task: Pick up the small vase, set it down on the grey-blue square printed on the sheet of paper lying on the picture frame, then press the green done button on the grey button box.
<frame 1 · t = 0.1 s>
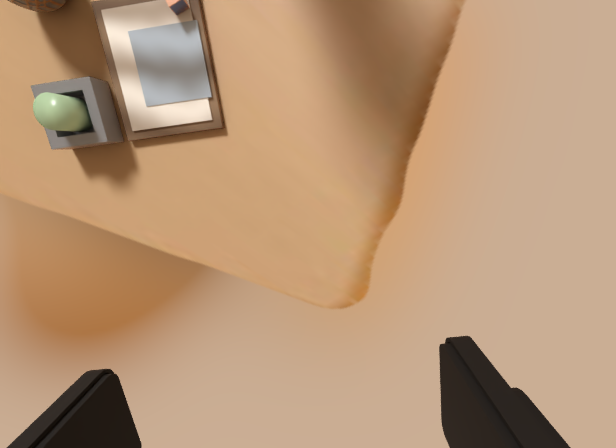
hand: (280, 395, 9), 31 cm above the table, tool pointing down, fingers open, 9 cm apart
button box: (89, 116, 37), on the table
picture frame: (162, 68, 35), on the table
done button: (65, 113, 34), point 4 cm above the table, slide at 0.0 cm
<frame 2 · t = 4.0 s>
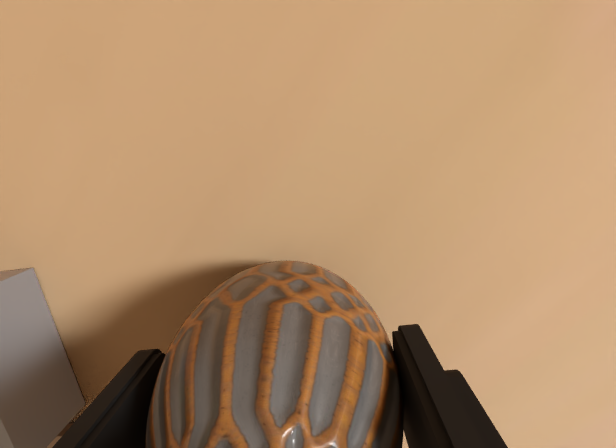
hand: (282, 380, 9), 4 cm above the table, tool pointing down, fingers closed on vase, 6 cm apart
vase: (293, 313, 13), on the table, touching gripper
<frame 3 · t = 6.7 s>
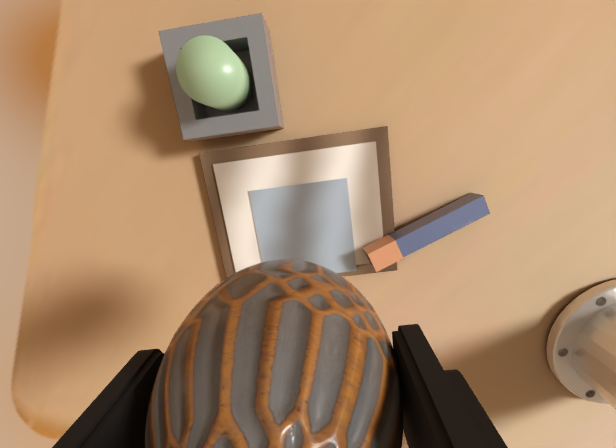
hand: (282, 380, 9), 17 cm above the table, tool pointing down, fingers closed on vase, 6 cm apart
marker: (419, 228, 25), point 1 cm above the table, tilted 6°, touching picture frame
button box: (232, 88, 23), on the table
vase: (293, 312, 13), point 14 cm above the table, touching gripper
picture frame: (302, 212, 26), on the table
done button: (217, 77, 20), point 4 cm above the table, slide at 0.0 cm
when the fingers open (5 cm above the table, at t = 9.4 s): vase stays where it is, resting on picture frame.
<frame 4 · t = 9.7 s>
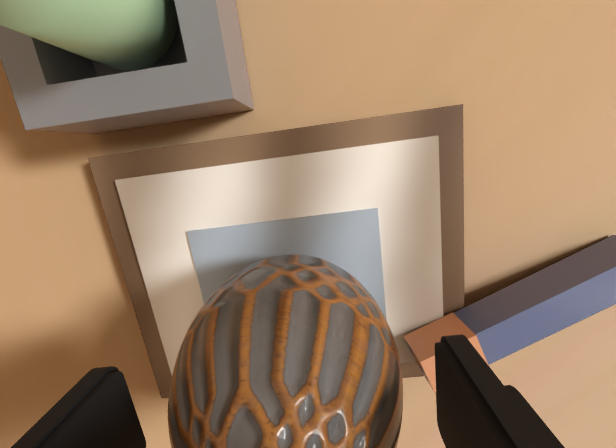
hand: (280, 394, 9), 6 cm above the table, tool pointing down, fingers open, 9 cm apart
marker: (511, 301, 13), point 1 cm above the table, tilted 6°, touching picture frame
button box: (149, 27, 12), on the table
vase: (298, 305, 13), point 1 cm above the table, touching picture frame
picture frame: (291, 267, 14), on the table
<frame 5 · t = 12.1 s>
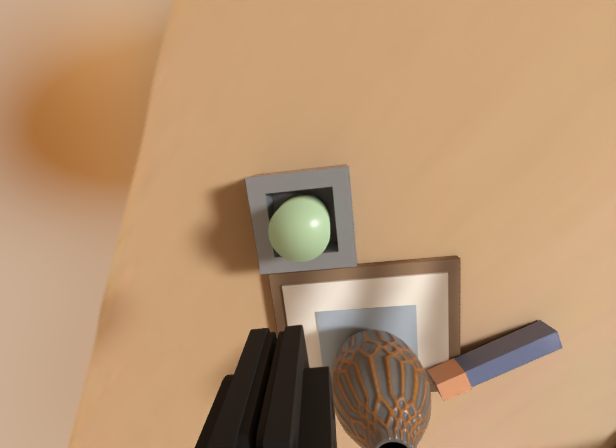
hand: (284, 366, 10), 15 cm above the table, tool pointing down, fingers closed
marker: (486, 353, 25), point 1 cm above the table, tilted 6°, touching picture frame
button box: (305, 214, 24), on the table
vase: (370, 351, 25), point 1 cm above the table, touching picture frame
picture frame: (365, 329, 26), on the table
done button: (301, 225, 20), point 4 cm above the table, slide at 0.0 cm
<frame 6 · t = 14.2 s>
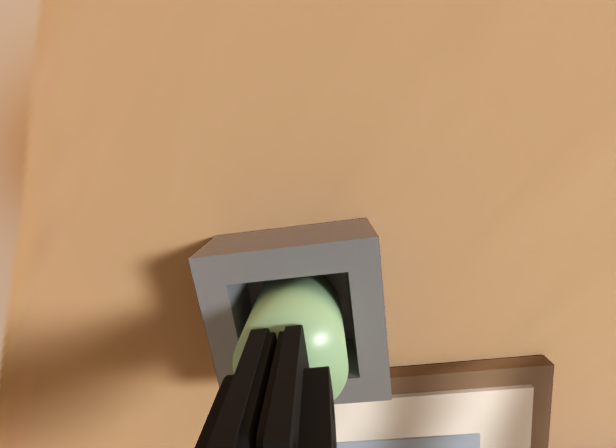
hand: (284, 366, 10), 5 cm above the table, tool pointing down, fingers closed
button box: (300, 295, 15), on the table
done button: (295, 333, 12), point 3 cm above the table, slide at 0.6 cm, touching gripper
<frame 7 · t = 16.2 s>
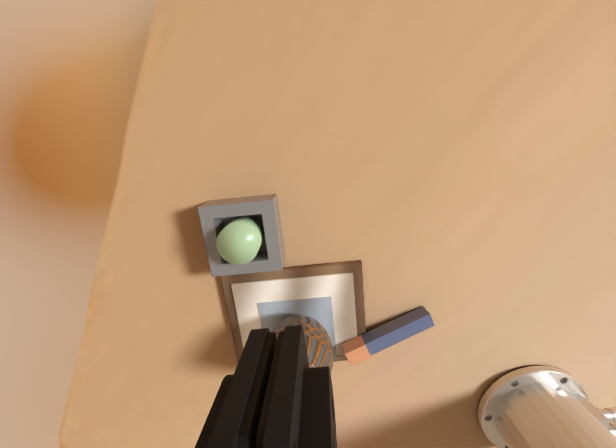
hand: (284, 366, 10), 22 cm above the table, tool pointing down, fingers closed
marker: (384, 330, 34), point 1 cm above the table, tilted 6°, touching picture frame
button box: (247, 230, 31), on the table
vase: (300, 331, 33), point 1 cm above the table, touching picture frame
picture frame: (297, 315, 34), on the table
done button: (242, 238, 29), point 3 cm above the table, slide at 1.0 cm
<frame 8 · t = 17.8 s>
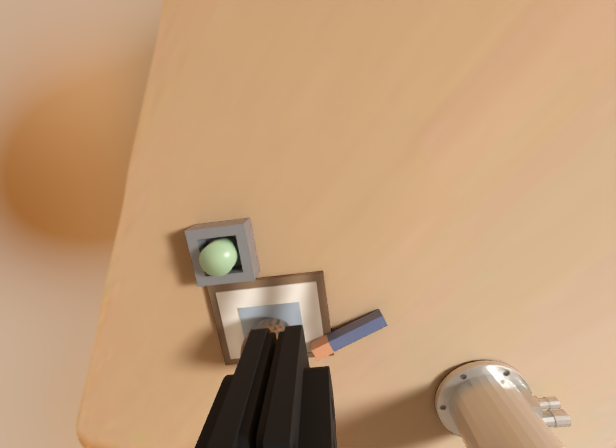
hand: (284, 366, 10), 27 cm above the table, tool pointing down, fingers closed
marker: (346, 330, 39), point 1 cm above the table, tilted 6°, touching picture frame
button box: (227, 247, 38), on the table
vase: (274, 332, 40), point 1 cm above the table, touching picture frame
picture frame: (272, 318, 40), on the table
done button: (221, 255, 35), point 3 cm above the table, slide at 1.0 cm
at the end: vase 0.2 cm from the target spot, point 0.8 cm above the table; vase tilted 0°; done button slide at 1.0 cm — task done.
